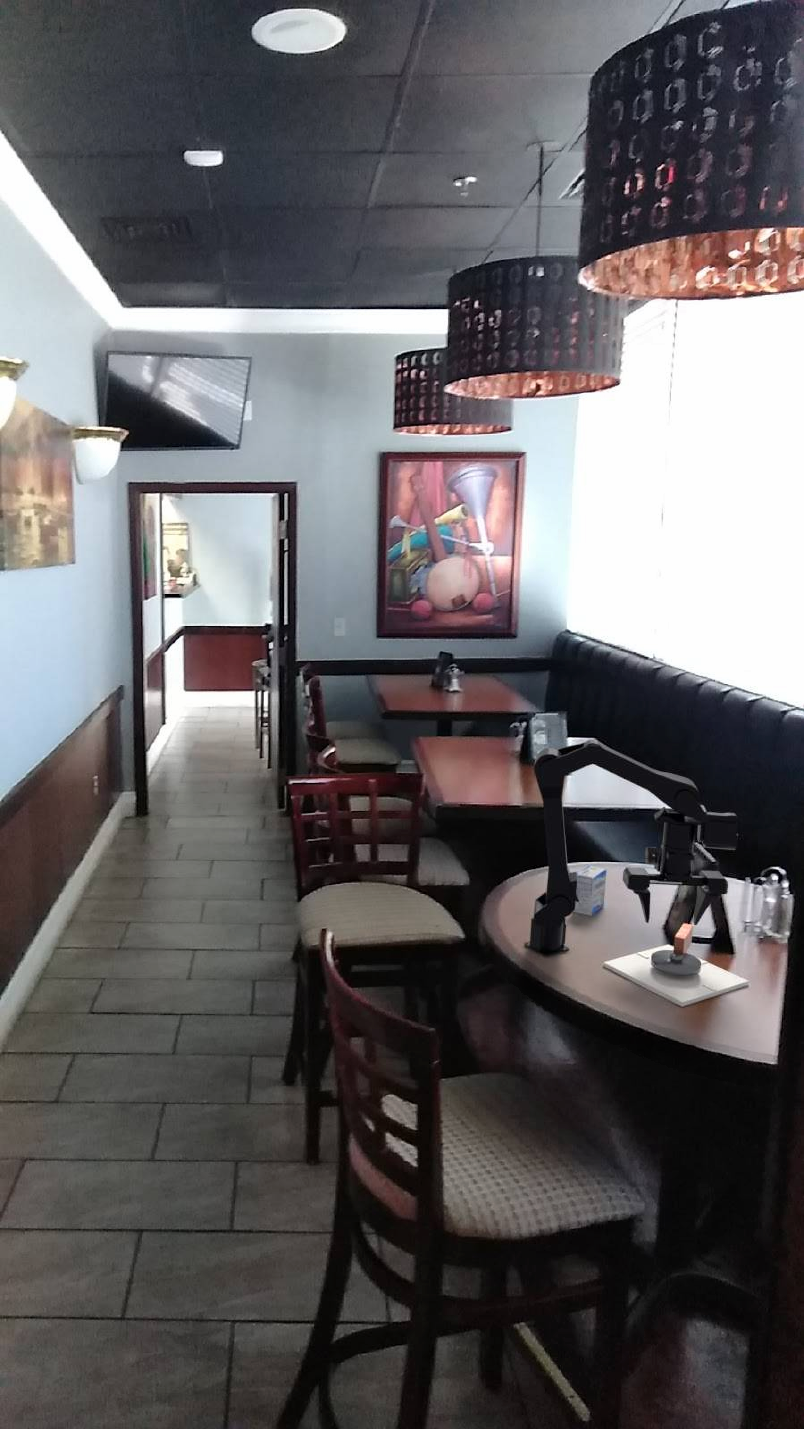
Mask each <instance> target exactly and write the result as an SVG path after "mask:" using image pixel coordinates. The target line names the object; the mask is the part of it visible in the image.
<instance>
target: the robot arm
mask: <svg viewBox="0 0 804 1429" xmlns="http://www.w3.org/2000/svg"><path fill="white" fill-rule="evenodd" d="M591 765H595V766H596V767H599V768H600V769H603V770H604V771H607V772H609V773H610V774H613V775H615V776H617V777H619V778H621V779H624V780H626V781H627V782H630V783H632V784H634V785H636V786H638V787H640V788H642V789H644V790H646V791H647V792H649V793H650V794H652V795H653V796H654V797H655V798H657V799H658V800H659V801H660V802H662V803H663V804H665V805H666V806H667V807H669V808H670V809H672V810H673V811H669V810H668V809H667V808H666V807H665V806H662V808H661V809H660V810H659V811H657V812H655V813H654V819H655V821H656V822H658V823H659V822H660V823H664V825H663V835H662V836H663V837H662V844H661V845H660V851H658V848H657V847H656V846H654V847H653V846H652V847H651V846H646V847H645V851H644V861H645V864H653V865H654V866H653V869H655V870H656V871H657V872H658V873H649V872H648V871H647V869H646V868H645V867H635V866H633V867H632V866H626V868H625V869H623V872H622V881H623V883H624V885H625V886H626V889H628V890H631V891H632V892H633V894H635V895H637V896H638V899H639V901H640V904H641V905H640V906H641V908H642V913H643V917H644V920H645V923H646V924H648V923H649V922H650V913H651V891H650V890H649V888H650V885H662V886H663V885H665V886H666V885H667V886H683V887H684V886H688V887H696V901H695V904H694V905H695V906H694V910H693V926H697V925H698V923H699V922H700V920H701V919H702V918H703V916H704V914H705V912H706V911H707V909H708V908H709V906H710V905H711V904H712V903H713V902H714V901H715V899H720V898H721V895H727V894H728V891H729V881H728V880H727V879H726V878H725V877H724V876H723V875H722V873H720V871H718V870H700V871H699V874H698V875H693V874H692V870H693V861H695V854H694V850H695V849H694V848H695V847H694V846H695V837H697V841H698V843H699V842H700V843H701V842H702V846H703V848H709V849H719V850H731V851H736V849H737V847H738V841H739V834H738V824H737V821H738V820H737V818H738V816H737V814H736V813H734V812H724V813H723V812H712V811H707V809H706V808H705V806H704V805H703V804H702V803H701V795H700V792H699V790H698V788H697V786H696V785H695V783H694V781H693V780H691V779H690V778H689V777H688V778H687V777H685V776H681V775H679V774H674V773H671V772H664V771H660V770H657V769H654V768H651V767H649V766H647V765H646V764H644V763H642V762H639V761H637V760H635V759H634V758H631V757H630V756H627V755H625V754H623V753H621V752H618V751H616V750H615V749H612V748H610V747H608V746H606V745H605V744H602V743H601V742H600V741H598V740H596V739H589V740H587V741H585V742H581V743H577V744H572V745H567V746H564V747H560V748H557V749H556V748H552V747H547V748H544V749H542V750H540V751H539V752H538V753H537V754H536V757H535V760H534V768H533V771H534V776H535V780H536V783H537V787H538V790H539V793H540V796H541V800H542V805H543V816H544V817H543V818H544V819H543V820H544V829H545V840H546V852H547V866H548V870H547V878H546V879H547V880H546V890H545V892H543V893H542V894H541V895H539V896H538V897H537V898H536V899H535V900H534V907H533V909H534V910H533V917H531V919H530V932H529V933H530V935H529V941H525V942H523V946H525V947H527V948H528V949H531V950H532V951H533V952H536V953H538V955H539V954H540V955H541V956H542V957H549V956H553V955H558V954H561V953H565V952H568V951H570V947H569V946H567V945H565V944H566V934H567V924H566V920H567V919H566V918H567V917H568V916H570V915H571V914H572V913H574V912H573V911H574V910H575V904H576V901H577V902H579V889H578V887H577V874H578V871H573V872H570V868H569V866H568V856H567V845H566V844H567V842H566V833H565V832H566V831H565V819H564V807H563V792H564V782H565V776H566V775H570V774H572V773H575V772H577V771H580V770H582V769H584V768H585V767H588V766H591ZM686 814H687V815H688V816H686ZM696 826H697V828H696ZM696 829H697V836H696Z"/></svg>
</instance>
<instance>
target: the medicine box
mask: <svg viewBox="0 0 804 1429" xmlns="http://www.w3.org/2000/svg"><path fill="white" fill-rule="evenodd" d="M606 881H607V869H605V868H602V867H597V866H590V865H588V866H587V867H585V868H584V869H582V870H581V871H579V872H577V887H578V889H579V902H577V901H576V904H575V910H574V911H573V912H572V913H575V914H579V915H585V916H588V917H592V916H594V915H595V914H596V913H597V912H598V911H599V910H600V909H602V908H603V907H604V906H605V895H606V883H607V882H606Z"/></svg>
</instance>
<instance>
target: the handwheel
mask: <svg viewBox="0 0 804 1429" xmlns="http://www.w3.org/2000/svg"><path fill="white" fill-rule="evenodd" d="M693 930H694V924H690V923H689V924H688V923H683V924H682V925H681V927H680V928H679V930H678V931H677V933H676V934H675V936H674V941H673V942H674V943H673V947H674V950H661V951H656V952H654V953H653V954H652V955H651V965H652V966H653V967H654V968H655V969H657V970H659V971H661V972H663V973H666V974H670V975H675V976H693V975H696V974H698V973H699V972H700V971H701V961H700V960H699V959H700V958H699V957H697V956H695V955H692V954H690V953H689V952H688V950H689V948H690V946H691V945H692V940H693ZM698 958H699V959H698Z"/></svg>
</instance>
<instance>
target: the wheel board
mask: <svg viewBox="0 0 804 1429" xmlns="http://www.w3.org/2000/svg"><path fill="white" fill-rule="evenodd" d="M661 950H674V945H670V944H664V945H661V946H658V947H654V948H650V949H647V950H643V951H640V952H635V953H631V954H629V955H625V956H621V957H618V958H613V959H610V960H607V961H603V967H604V968H606V969H609V970H610V971H612V972H614V973H616V974H618V975H620V976H622V977H624V978H626V979H627V980H629V981H631V982H633V983H636V984H638V985H640V986H641V987H643V988H645V989H647V990H649V991H650V992H653V993H655V994H657V995H659V996H660V997H662V998H665V999H667V1000H668V1001H670V1002H672V1003H674V1004H676V1005H679V1007H681V1008H682V1007H685V1006H688V1005H692V1004H694V1003H695V1004H696V1003H697V1002H701V1001H703V1000H704V1001H705V1000H706V999H710V998H713V997H716V996H719V995H722V994H725V993H729V992H731V991H735V990H737V989H741V988H744V987H746V986H748V985H749V980H748V979H745V978H743V977H741V976H738V975H736V974H734V973H732V972H730V971H727V970H726V969H723V968H721V967H719V966H716V965H714V964H712V963H710V962H708V961H707V960H703V959H702V958H699V957H697V958H698V959H699V960H700V961H701V971H700V972H699V973H698V974H696V975H693V976H675V975H670V974H666V973H663V972H661V971H659V970H657V969H655V968H654V967H653V966H652V965H651V955H652V954H653V953H654V952H656V951H661Z"/></svg>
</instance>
